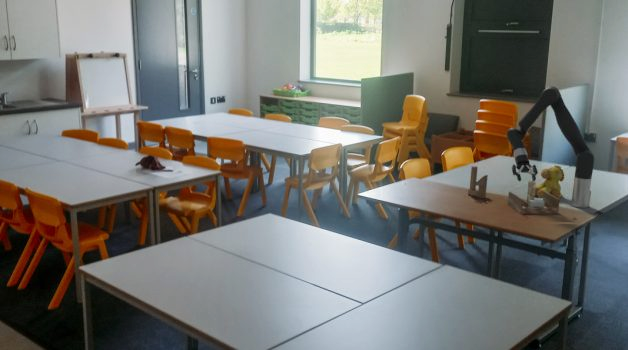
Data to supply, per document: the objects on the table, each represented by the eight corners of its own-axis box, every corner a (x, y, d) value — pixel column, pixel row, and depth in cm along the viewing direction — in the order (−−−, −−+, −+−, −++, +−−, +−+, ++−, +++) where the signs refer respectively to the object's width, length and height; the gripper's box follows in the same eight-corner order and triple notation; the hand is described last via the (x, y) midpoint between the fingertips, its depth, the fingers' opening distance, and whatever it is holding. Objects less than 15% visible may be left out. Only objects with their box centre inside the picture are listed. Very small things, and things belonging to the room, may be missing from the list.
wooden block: (482, 198, 400) (484, 169, 396) (467, 194, 408) (470, 166, 404) (485, 197, 402) (488, 168, 398) (471, 193, 410) (473, 165, 406)
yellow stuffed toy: (523, 192, 418) (527, 163, 414) (556, 191, 424) (559, 162, 420) (542, 201, 399) (546, 170, 394) (576, 199, 405) (580, 169, 401)
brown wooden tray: (543, 206, 385) (545, 191, 383) (557, 215, 368) (559, 199, 366) (507, 206, 383) (509, 191, 381) (520, 215, 366) (521, 199, 363)
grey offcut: (541, 205, 372) (542, 199, 372) (544, 206, 370) (544, 201, 369) (528, 205, 372) (528, 199, 371) (530, 206, 369) (530, 201, 368)
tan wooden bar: (530, 206, 381) (532, 180, 378) (533, 208, 377) (535, 182, 374) (525, 206, 381) (528, 180, 377) (528, 208, 377) (531, 182, 374)
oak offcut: (541, 210, 373) (541, 205, 372) (543, 211, 370) (544, 206, 370) (527, 210, 372) (528, 205, 372) (529, 211, 369) (530, 206, 369)
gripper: (511, 153, 387) (517, 177, 378) (535, 154, 388) (541, 177, 380) (507, 160, 393) (513, 184, 385) (530, 161, 395) (536, 184, 386)
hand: (527, 180), depth 382 cm, fingers open, 8 cm apart
